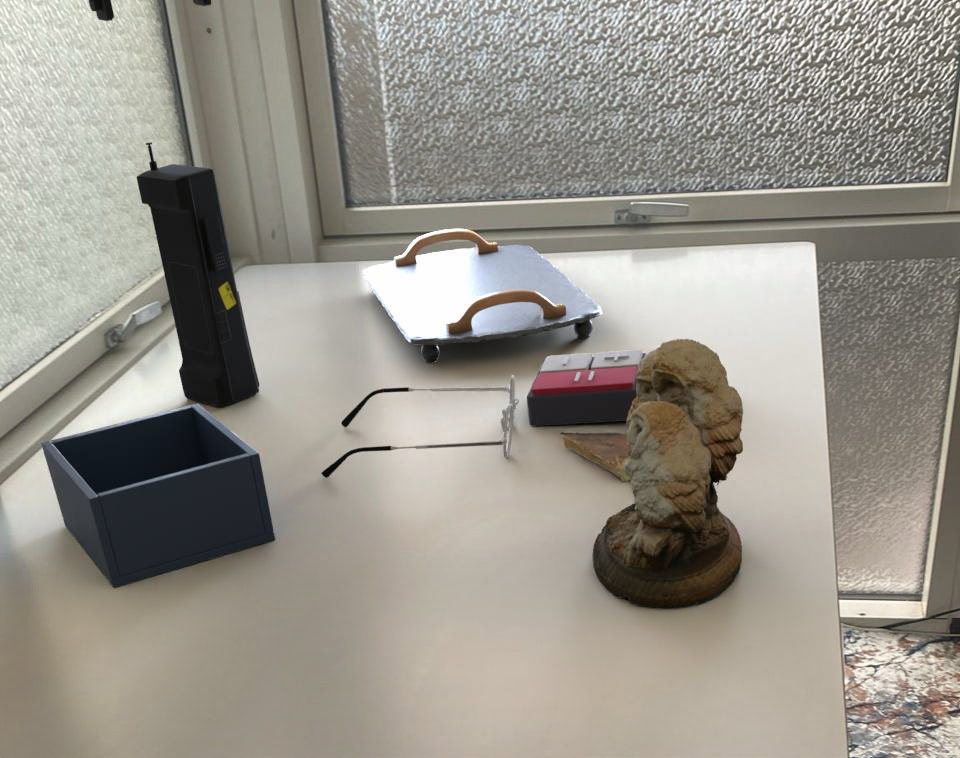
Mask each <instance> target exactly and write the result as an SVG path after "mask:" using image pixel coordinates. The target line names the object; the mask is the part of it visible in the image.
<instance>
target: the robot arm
mask: <svg viewBox="0 0 960 758" xmlns="http://www.w3.org/2000/svg"><path fill="white" fill-rule="evenodd" d="M192 2H193V4H194V5H196V6H201V7H210V6H212V0H192ZM88 5H89V8H90V10H91V12H95V13H96V17H97V19H98V20H99V21H103V22H109V21H110V22H111V21H114V19H115V13H114V9H113V5H112V0H88Z"/></svg>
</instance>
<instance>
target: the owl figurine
mask: <svg viewBox="0 0 960 758" xmlns="http://www.w3.org/2000/svg"><path fill="white" fill-rule="evenodd" d="M652 350H653V351H652V352H649V353H648V354H647V355H646V356H645V357H644V358H643V359H642V360H641V361H640V366H639V368H638V370H637V377H636V379H637V384H636V394H637V396H636V398H635V399H634V400H633V402H632V406H631V409H630V410H629V412H628V417H627V420H626V422H625V423H626V428H627V431H626V433H627V445H628V453H629V458H628V459H627V460H626V462H625V465H624V466H625V471H626V474H627V475H629V476H630V480H629V481H630V484H631V487H630V488H631V493H632V495H633V498H634V502H633V503H632V504H630V505H628V506H626V507H625V508H622V509H621V510H620V511H618V512H616V513H615V514H612V515H611V516H609V517H608V518H607V519H606V522H605V523H606V524H605V525H603V527H602V528H601V531H600V532H599V533H598V535H597V536H596V538H595V540H594V543H593V548H592V562H593V564H592V566H593V570H594V572H595V575H596V577H597V578H598V580H599V582H600V584H601V585H603V587H604V588H605V589H606V590H607V591H608V592H610V593H611V594H613V595H614V596H615V597H618V598H619V599H623V600H626V599H627V598H628V601H629V602H630V603H632V604H634V605H637V606H641V607H647V608H650V607H651V608H662V609H668V608H685V607H689V606H692V605H696V604H699V605H700V604H702V603H706V602H708V601H711V600H713V599H714V598H716V597H718V596H719V595H721V594H722V593H723V592H725V591H726V590H727V588H728V587H730V586H731V585H732V583H734V580H735V579H736V577H737V575H738V574H739V572H740V570H741V567H742V560H743V545H742V540H741V539H742V538H741V535H740V533H739V530H738V528H737V527H736V525H735V524H734V523H733V521H732V520H731V519H730V518H728V517H727V516H726V515H725V514H724V513H723V512H722V511H720V508H719V507H718V501H719V495H718V494H717V490H716V487H715V484H716V486H719V484H720V483H721V482H722V481H723V482H724V481H727V479H728V474H729V473H730V472H731V471H732V470H734V467H735V464H736V462H737V458H738V457H737V455H740V454H742V453H743V452H744V447H743V445H744V443H743V440H742V439H741V432H742V430H743V429H742V424H743V415H744V409H743V400H742V397H741V396H740V393H739V392H738V390H737V389H736V388H735V387H734V386H730V385H729V380H728V377H727V376H728V372H727V369H726V367H725V366H724V365H723V363H722V362H721V360H720V356H719V355H718V352H715V351H714V350H713V349H711V348H710V347H709V346H707V345H706V344H703V343H701V342H699V341H696V340H694V339H689V338H676V339H672V340H671V339H670V340H669V341H662V343H661V344H660V346H659V347H657V348H656V349H652Z"/></svg>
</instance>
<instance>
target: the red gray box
mask: <svg viewBox="0 0 960 758" xmlns="http://www.w3.org/2000/svg"><path fill="white" fill-rule="evenodd" d="M653 350H654V349H651V350H647V351H646V352H643V350H642V349H641V348H639V349H638V348H637V349H625V350H611V351H598V352H596V353H595V355H594V356H592V353H591V352H585V353H584V352H583V353H571V354H558V355H557V354H555V355H547V356H546V357H545V359H544V360H543V361H542V363H541V365H540V367H539V369H538V372H537V374H536V376H535V378H534V380H533V382H532V384H531V387H530V388H529V391H528V394H527V395H526V404H527V412H528V413H527V414H528V421H529V425H530V427H543V426H559V425H574V424H575V425H576V424H591V423H607V422H625V421H627V417H628V412H629V410H630V409H631V406H632V402H633V400H634V399H635V398H636V396H637V394H636V384H637V379H636V377H637V370H638V368H639V366H640V361H641V360H642V359H643V358H644V357H645V356H646V355H647V354H648V353H649V352H652V351H653Z"/></svg>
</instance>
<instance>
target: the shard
mask: <svg viewBox="0 0 960 758" xmlns="http://www.w3.org/2000/svg"><path fill="white" fill-rule="evenodd" d="M559 435H561V438H562V439H563V446H564V448H565V449H570V450H571V451H572V452H574V453H576V454H579V455H581V456H582V457H584V458H585V459H587V460H588V461H590V462H591V463H594V464H596V465H598V466H600V467H601V468H602V469H604V470H606V471H608V472H610V473H612V474H614V475H615V476H616V477H618V478H619V479H620V481H621V482H623V483H627V482H629V481H631V480H630V476H629V475H627V474H626V471H625V466H624V465H625V462H626V460H627V459H628V458H629V453H628V445H627V432H626V433H625V432H565V431H564V432H563V431H561V432H559Z"/></svg>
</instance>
